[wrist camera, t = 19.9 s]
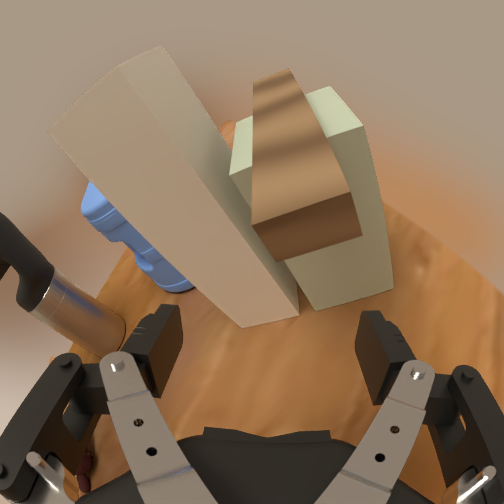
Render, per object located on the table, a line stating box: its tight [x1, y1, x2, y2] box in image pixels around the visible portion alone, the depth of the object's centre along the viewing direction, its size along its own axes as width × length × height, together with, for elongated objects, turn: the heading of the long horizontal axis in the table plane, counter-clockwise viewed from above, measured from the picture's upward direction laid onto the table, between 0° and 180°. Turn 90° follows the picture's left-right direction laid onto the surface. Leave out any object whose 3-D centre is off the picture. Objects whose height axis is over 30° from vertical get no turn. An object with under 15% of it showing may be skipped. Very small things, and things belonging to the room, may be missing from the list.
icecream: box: [75, 448, 92, 493], centre depth 30 cm, size 7×7×15 cm
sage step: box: [229, 86, 394, 311], centre depth 29 cm, size 10×10×21 cm
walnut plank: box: [251, 69, 363, 263], centre depth 19 cm, size 22×4×2 cm, turn 179°
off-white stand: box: [48, 45, 300, 328], centre depth 29 cm, size 10×8×32 cm
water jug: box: [81, 181, 195, 292], centre depth 43 cm, size 16×16×28 cm
